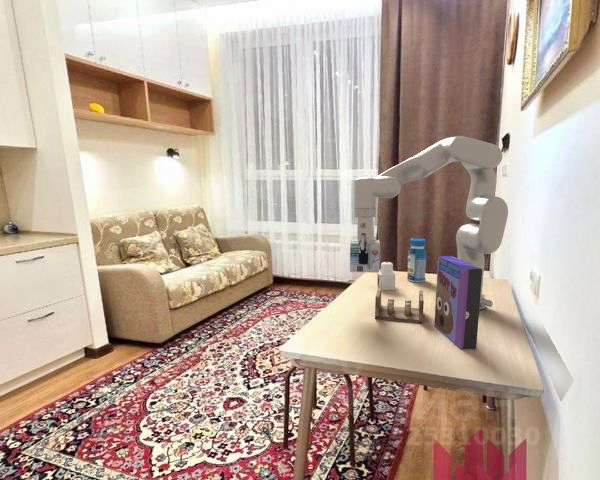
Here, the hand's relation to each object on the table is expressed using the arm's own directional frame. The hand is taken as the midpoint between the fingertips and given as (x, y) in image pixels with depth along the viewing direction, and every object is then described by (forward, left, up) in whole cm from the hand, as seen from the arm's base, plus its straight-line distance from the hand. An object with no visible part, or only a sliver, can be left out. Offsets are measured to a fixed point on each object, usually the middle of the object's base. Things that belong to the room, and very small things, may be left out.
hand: (364, 261), depth 137 cm
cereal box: (-33, -2, -19) cm, 38 cm away
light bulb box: (0, 0, -4) cm, 4 cm away
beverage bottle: (+8, -52, -19) cm, 56 cm away
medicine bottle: (+11, -31, -19) cm, 38 cm away
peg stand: (-11, -6, -19) cm, 23 cm away
